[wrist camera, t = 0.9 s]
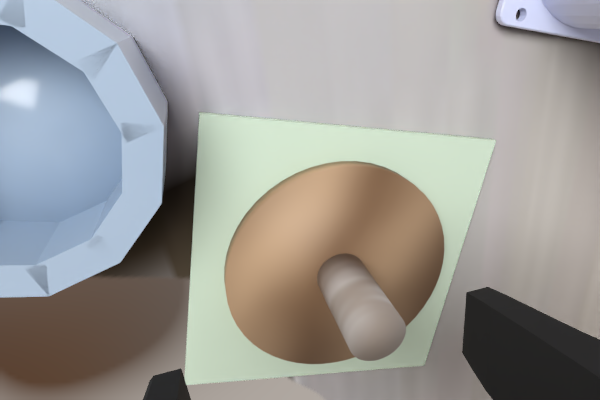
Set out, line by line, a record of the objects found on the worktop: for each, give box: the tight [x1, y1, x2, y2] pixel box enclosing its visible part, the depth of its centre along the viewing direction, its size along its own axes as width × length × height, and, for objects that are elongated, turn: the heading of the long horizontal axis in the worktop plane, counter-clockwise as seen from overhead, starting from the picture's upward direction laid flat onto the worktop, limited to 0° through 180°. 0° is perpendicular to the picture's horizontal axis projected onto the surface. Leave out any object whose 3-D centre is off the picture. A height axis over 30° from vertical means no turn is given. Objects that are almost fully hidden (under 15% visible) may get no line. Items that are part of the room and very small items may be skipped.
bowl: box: [0, 0, 168, 297], centre depth 14 cm, size 10×10×4 cm
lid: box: [224, 161, 444, 364], centre depth 19 cm, size 11×11×5 cm
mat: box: [184, 112, 496, 385], centre depth 21 cm, size 14×14×1 cm
